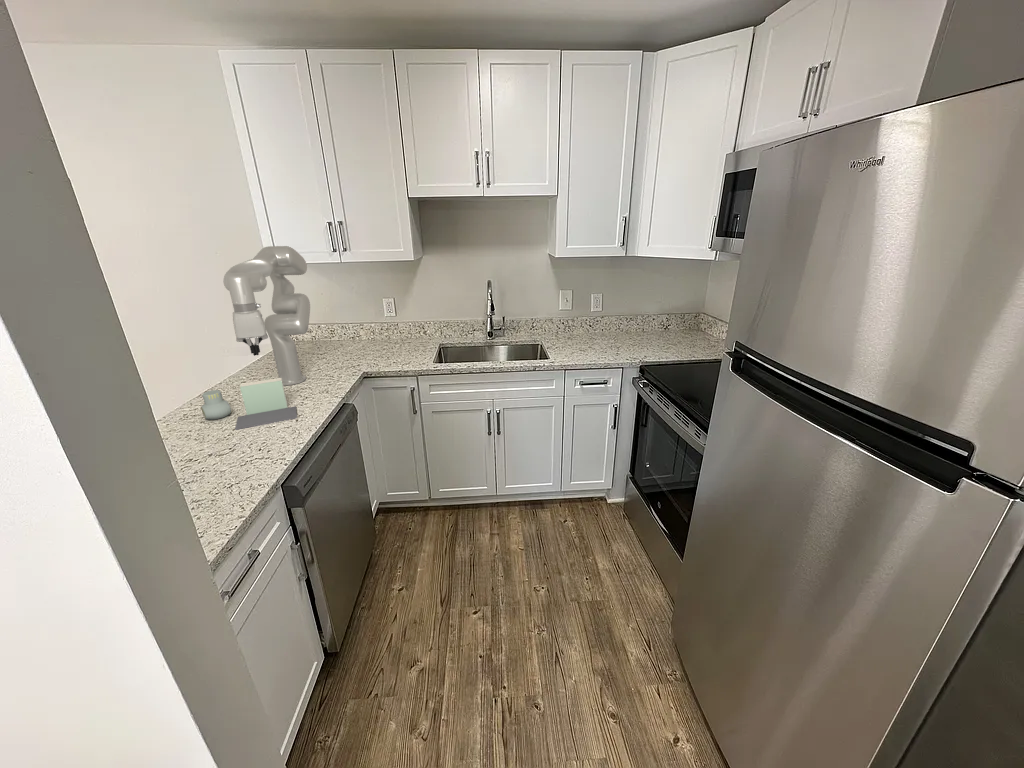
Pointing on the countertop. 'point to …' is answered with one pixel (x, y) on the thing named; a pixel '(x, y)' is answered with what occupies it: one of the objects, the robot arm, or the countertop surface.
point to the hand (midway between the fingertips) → (256, 354)
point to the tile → (263, 396)
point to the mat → (265, 417)
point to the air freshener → (215, 405)
